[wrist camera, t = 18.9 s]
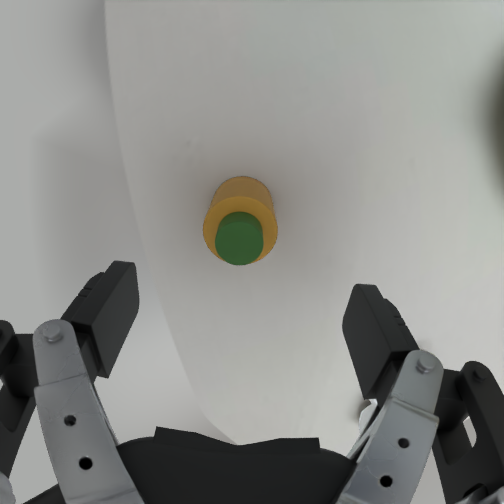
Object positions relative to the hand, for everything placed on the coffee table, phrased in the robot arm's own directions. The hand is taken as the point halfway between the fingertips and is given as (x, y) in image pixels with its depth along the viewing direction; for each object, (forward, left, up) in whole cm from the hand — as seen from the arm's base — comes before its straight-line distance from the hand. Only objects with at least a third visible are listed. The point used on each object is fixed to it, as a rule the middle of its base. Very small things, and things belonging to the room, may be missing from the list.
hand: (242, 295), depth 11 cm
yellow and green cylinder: (0, 0, -11) cm, 11 cm away
